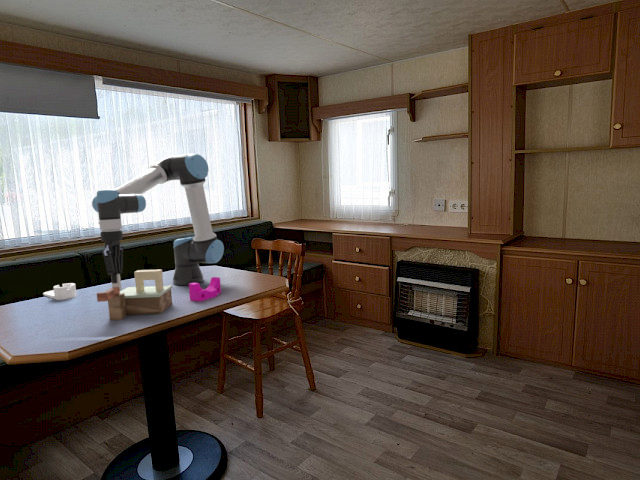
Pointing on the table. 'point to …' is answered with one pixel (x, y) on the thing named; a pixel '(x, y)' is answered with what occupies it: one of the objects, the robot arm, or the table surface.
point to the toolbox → (137, 305)
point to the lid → (149, 290)
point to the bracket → (62, 292)
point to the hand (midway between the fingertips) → (117, 290)
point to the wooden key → (108, 294)
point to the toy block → (209, 292)
